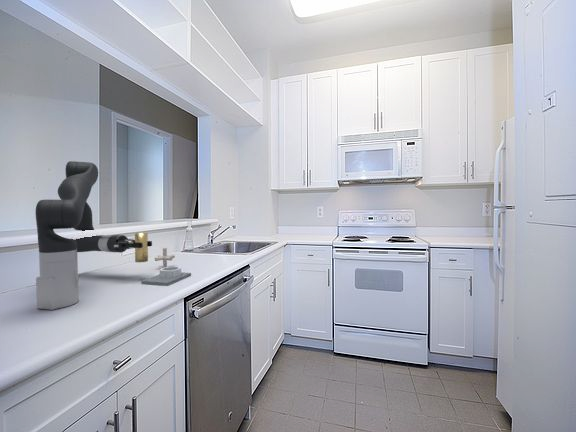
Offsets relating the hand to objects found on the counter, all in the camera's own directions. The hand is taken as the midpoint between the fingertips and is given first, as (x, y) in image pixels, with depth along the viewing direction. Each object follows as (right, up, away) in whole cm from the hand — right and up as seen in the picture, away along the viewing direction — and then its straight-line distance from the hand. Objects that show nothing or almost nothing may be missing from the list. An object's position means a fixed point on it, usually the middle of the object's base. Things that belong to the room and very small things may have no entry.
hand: (146, 244), depth 114 cm
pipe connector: (-3, -14, +23) cm, 27 cm away
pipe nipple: (-2, -7, +1) cm, 8 cm away
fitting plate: (+9, -15, +1) cm, 17 cm away
